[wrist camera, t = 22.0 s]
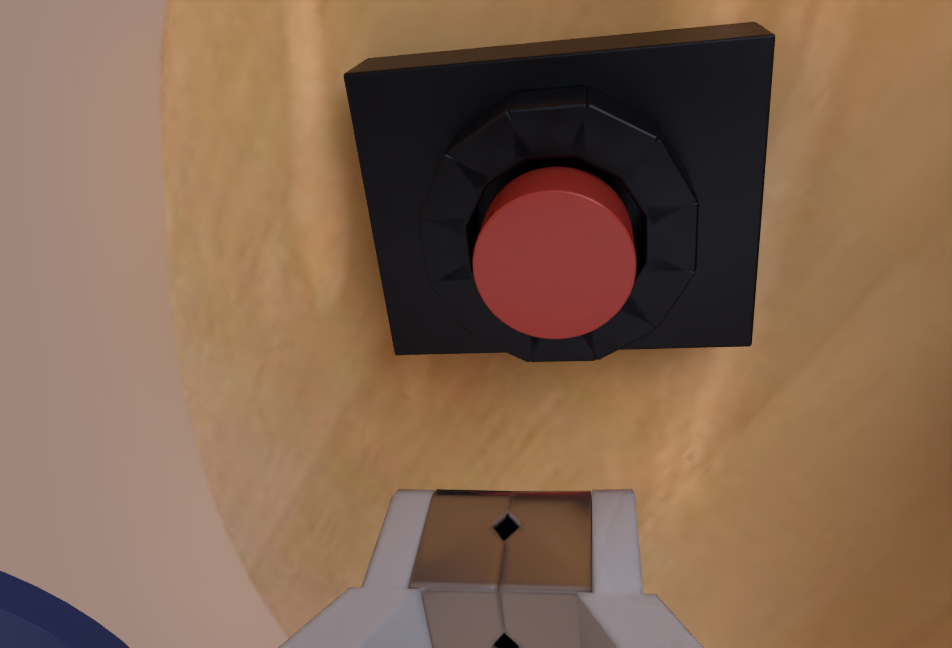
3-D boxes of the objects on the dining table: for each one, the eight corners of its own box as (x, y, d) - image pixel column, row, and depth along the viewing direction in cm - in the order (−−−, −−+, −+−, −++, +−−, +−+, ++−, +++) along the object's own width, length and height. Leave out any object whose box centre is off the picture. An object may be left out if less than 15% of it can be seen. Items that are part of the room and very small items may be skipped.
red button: (489, 307, 19) (481, 342, 18) (474, 170, 17) (463, 195, 16) (633, 303, 18) (637, 338, 17) (631, 160, 17) (636, 185, 15)
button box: (410, 320, 24) (379, 390, 20) (366, 58, 20) (318, 88, 17) (737, 309, 22) (765, 383, 19) (756, 21, 18) (795, 47, 15)
